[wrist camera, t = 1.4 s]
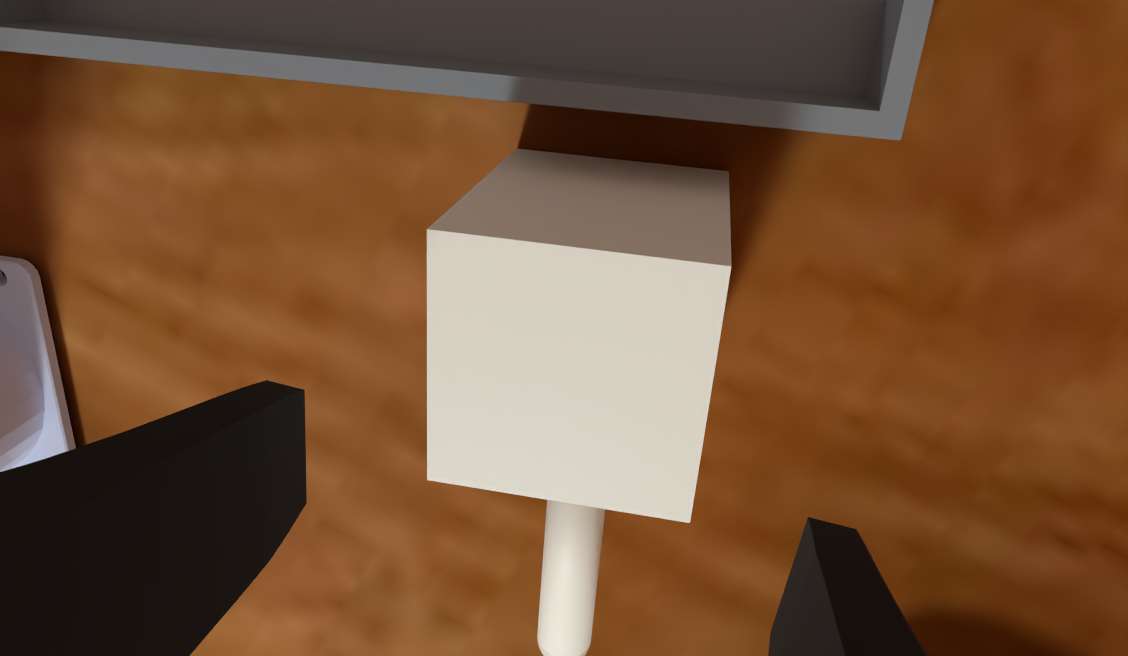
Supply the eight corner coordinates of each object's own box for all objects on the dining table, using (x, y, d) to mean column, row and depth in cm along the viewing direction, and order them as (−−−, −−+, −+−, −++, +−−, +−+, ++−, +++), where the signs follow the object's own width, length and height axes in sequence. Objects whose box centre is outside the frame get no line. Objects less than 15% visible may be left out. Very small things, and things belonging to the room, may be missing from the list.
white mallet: (516, 148, 20) (426, 228, 14) (728, 171, 19) (731, 265, 13) (498, 565, 25) (427, 755, 19) (663, 594, 24) (644, 800, 18)
